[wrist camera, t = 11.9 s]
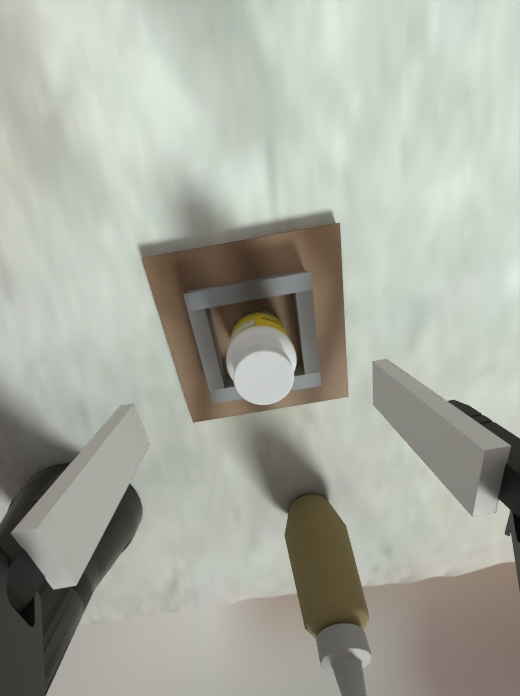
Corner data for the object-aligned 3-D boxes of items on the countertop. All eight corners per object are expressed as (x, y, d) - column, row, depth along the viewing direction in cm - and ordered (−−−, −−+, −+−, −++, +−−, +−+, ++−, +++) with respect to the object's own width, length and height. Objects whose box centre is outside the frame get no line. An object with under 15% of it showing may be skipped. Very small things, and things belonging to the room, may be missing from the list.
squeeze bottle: (273, 497, 34) (296, 730, 17) (328, 479, 34) (409, 704, 17) (291, 533, 37) (327, 765, 20) (343, 517, 36) (425, 744, 19)
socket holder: (194, 417, 29) (188, 437, 26) (145, 258, 23) (128, 258, 20) (345, 392, 29) (357, 409, 26) (336, 224, 23) (350, 218, 19)
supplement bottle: (295, 340, 25) (320, 386, 16) (252, 369, 26) (254, 428, 17) (264, 297, 24) (273, 322, 15) (220, 330, 25) (203, 373, 16)
